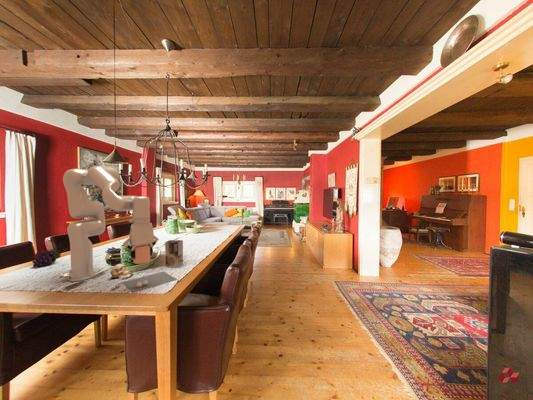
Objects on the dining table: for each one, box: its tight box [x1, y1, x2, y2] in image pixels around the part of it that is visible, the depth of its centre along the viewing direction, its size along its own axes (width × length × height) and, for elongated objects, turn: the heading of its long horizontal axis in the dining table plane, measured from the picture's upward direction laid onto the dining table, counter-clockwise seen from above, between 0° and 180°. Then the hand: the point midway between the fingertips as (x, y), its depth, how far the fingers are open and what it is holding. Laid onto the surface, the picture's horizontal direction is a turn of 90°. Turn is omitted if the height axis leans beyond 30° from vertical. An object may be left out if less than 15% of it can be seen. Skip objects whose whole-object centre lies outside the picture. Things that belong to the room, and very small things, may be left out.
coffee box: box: [164, 239, 184, 268], centre depth 146 cm, size 9×6×16 cm
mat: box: [120, 271, 178, 294], centre depth 120 cm, size 22×18×1 cm
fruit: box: [31, 249, 62, 268], centre depth 145 cm, size 10×11×15 cm
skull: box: [107, 263, 134, 282], centre depth 125 cm, size 12×10×10 cm
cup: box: [132, 244, 151, 265], centre depth 113 cm, size 7×7×8 cm
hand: (141, 256), depth 113 cm, fingers closed on cup, 7 cm apart
